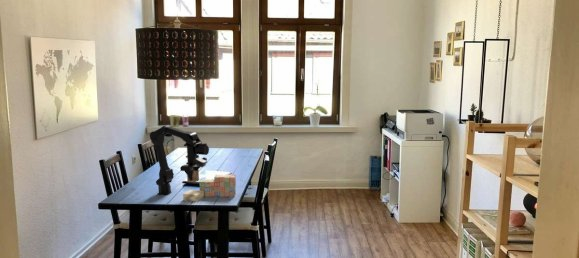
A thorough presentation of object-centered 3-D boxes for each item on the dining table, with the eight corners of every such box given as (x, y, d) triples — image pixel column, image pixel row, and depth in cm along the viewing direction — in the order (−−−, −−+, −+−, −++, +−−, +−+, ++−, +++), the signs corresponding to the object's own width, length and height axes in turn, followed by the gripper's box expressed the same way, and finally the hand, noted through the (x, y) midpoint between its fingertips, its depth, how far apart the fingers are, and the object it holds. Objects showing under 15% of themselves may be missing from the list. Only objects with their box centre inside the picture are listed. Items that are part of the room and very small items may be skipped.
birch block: (183, 200, 268) (183, 194, 267) (190, 196, 276) (190, 189, 276) (197, 201, 265) (196, 195, 265) (203, 197, 274) (203, 190, 273)
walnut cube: (194, 182, 268) (194, 172, 267) (187, 181, 269) (187, 171, 268) (199, 180, 272) (198, 170, 271) (191, 179, 274) (191, 169, 273)
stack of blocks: (199, 196, 275) (198, 177, 273) (201, 193, 281) (200, 174, 279) (234, 196, 275) (234, 177, 273) (235, 193, 281) (235, 174, 279)
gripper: (196, 157, 257) (197, 184, 259) (211, 151, 275) (212, 176, 277) (179, 156, 260) (180, 183, 263) (195, 150, 278) (196, 175, 280)
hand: (193, 179), depth 271 cm, fingers closed on walnut cube, 5 cm apart
